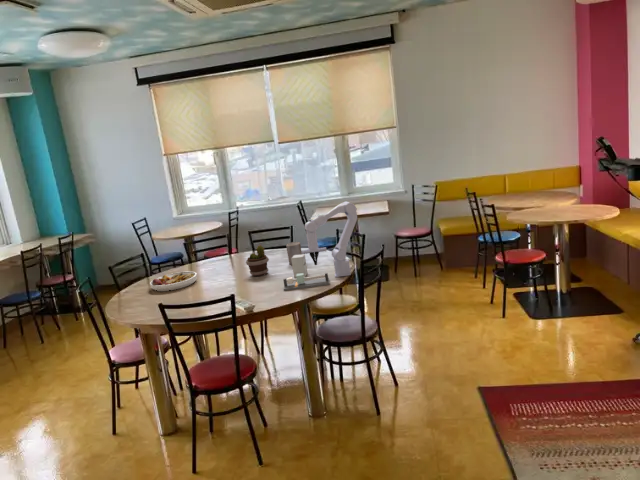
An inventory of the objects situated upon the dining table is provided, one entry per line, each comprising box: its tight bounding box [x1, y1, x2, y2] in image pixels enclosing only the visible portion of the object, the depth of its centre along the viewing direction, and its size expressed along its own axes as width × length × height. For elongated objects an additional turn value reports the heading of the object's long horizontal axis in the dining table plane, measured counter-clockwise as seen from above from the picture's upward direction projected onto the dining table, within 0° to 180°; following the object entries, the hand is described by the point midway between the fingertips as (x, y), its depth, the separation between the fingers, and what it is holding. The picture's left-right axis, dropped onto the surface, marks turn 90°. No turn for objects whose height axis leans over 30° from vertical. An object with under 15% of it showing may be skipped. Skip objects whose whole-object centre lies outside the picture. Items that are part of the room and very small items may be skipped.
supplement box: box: [291, 254, 308, 279], centre depth 317 cm, size 7×7×13 cm
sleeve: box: [295, 273, 306, 284], centre depth 295 cm, size 4×4×5 cm
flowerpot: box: [245, 243, 270, 277], centre depth 333 cm, size 14×15×20 cm
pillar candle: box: [285, 241, 302, 266], centre depth 349 cm, size 10×10×15 cm
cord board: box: [283, 272, 330, 292], centre depth 296 cm, size 26×10×6 cm, turn 89°
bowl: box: [149, 270, 198, 292], centre depth 338 cm, size 30×30×8 cm
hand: (315, 264), depth 302 cm, fingers closed
